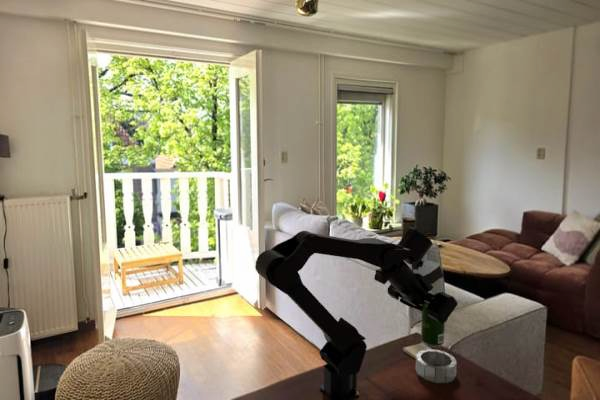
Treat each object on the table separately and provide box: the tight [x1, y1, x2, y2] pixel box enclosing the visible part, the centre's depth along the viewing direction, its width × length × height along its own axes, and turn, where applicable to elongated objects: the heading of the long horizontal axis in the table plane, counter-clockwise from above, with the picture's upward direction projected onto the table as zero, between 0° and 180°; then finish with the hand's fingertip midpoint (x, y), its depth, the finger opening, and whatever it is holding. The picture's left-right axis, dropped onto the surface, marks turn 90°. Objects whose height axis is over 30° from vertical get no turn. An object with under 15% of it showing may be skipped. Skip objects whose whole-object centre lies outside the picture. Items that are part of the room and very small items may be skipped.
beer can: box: [420, 292, 446, 348], centre depth 102 cm, size 5×5×12 cm
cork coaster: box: [402, 342, 432, 360], centre depth 109 cm, size 6×6×1 cm
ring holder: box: [415, 348, 458, 384], centre depth 100 cm, size 9×9×4 cm
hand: (437, 316), depth 102 cm, fingers closed on beer can, 5 cm apart
